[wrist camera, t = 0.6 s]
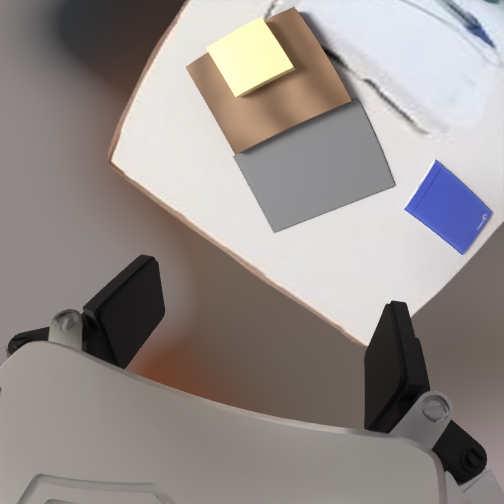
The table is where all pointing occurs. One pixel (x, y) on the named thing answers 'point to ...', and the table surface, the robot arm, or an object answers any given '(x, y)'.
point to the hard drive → (448, 207)
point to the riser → (273, 88)
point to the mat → (315, 166)
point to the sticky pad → (250, 58)
